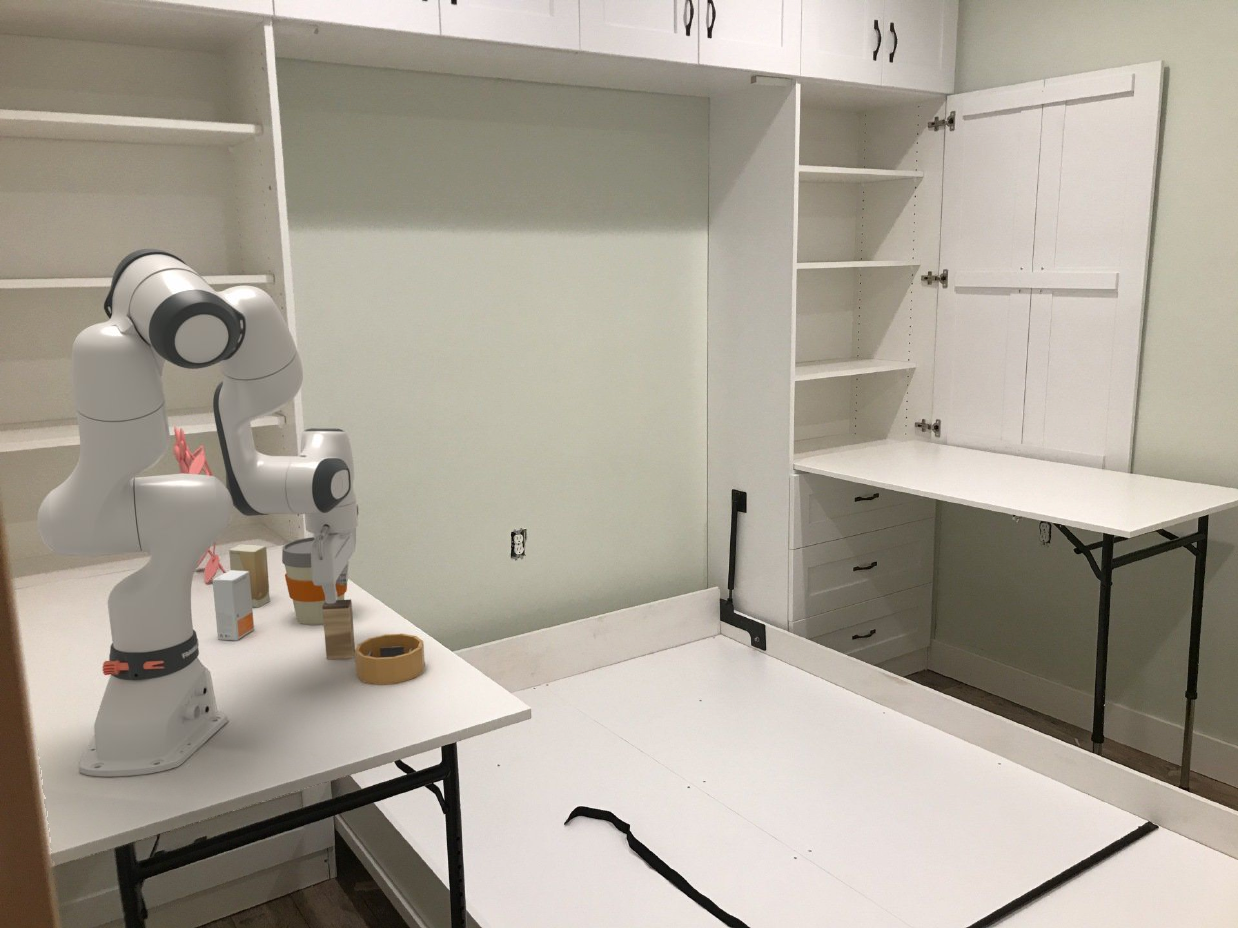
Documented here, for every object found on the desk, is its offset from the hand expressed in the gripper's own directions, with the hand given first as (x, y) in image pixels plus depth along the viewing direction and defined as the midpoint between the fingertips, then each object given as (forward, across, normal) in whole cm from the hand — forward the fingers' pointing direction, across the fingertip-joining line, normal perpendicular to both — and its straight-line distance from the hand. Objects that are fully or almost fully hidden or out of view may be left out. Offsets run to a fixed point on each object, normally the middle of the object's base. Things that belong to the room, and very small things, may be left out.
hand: (337, 592), depth 175 cm
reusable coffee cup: (+12, +21, +8) cm, 25 cm away
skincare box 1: (+13, +30, +24) cm, 41 cm away
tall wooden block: (+12, 0, 0) cm, 12 cm away
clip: (+12, -8, -10) cm, 17 cm away
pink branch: (+13, +49, +43) cm, 66 cm away
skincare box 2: (+12, +12, +22) cm, 28 cm away
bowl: (+12, -8, -10) cm, 17 cm away
